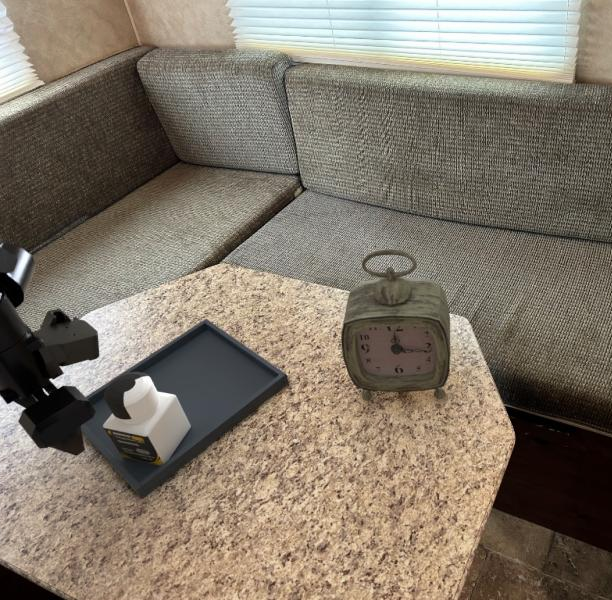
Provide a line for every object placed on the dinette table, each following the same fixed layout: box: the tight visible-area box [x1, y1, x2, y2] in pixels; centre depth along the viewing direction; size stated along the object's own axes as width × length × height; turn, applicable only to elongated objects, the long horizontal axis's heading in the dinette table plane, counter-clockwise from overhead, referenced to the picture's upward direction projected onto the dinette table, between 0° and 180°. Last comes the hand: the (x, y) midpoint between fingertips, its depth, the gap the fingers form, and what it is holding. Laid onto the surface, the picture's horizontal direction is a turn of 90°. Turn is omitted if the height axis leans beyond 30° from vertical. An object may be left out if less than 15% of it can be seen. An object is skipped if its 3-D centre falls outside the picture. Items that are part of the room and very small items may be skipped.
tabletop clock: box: [340, 249, 451, 401], centre depth 83 cm, size 14×9×25 cm, turn 86°
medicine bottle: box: [103, 372, 191, 466], centre depth 82 cm, size 7×7×12 cm
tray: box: [81, 318, 290, 499], centre depth 92 cm, size 26×22×2 cm
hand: (63, 433), depth 73 cm, fingers open, 9 cm apart
